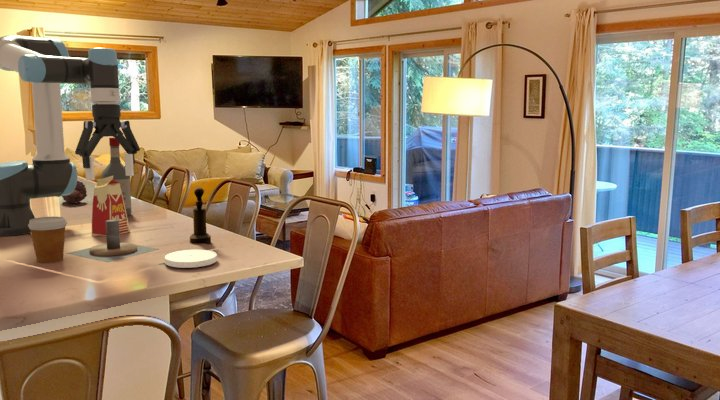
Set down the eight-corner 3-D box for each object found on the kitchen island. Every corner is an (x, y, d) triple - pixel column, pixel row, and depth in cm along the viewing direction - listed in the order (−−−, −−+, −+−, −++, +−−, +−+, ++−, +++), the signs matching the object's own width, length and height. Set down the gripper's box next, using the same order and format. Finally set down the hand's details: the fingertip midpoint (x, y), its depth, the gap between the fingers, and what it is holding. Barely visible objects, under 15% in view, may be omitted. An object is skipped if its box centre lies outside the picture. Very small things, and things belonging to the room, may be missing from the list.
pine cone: (56, 201, 265) (55, 178, 263) (80, 199, 271) (79, 177, 269) (67, 206, 251) (65, 182, 250) (92, 204, 258) (90, 181, 256)
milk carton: (130, 233, 204) (128, 174, 200) (108, 238, 195) (105, 177, 192) (110, 230, 207) (107, 172, 204) (88, 235, 199) (85, 175, 196)
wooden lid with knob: (79, 252, 174) (77, 222, 173) (117, 244, 186) (115, 215, 184) (109, 258, 168) (108, 227, 167) (146, 249, 179) (145, 219, 178)
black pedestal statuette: (191, 240, 194) (190, 185, 191) (212, 240, 195) (211, 185, 192) (187, 245, 187) (186, 188, 185) (209, 245, 188) (207, 188, 185)
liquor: (132, 215, 235) (129, 138, 230) (108, 217, 230) (104, 138, 225) (127, 211, 242) (123, 137, 237) (102, 213, 237) (99, 137, 232)
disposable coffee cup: (53, 267, 161) (50, 223, 159) (22, 265, 162) (19, 221, 161) (76, 259, 170) (74, 217, 168) (47, 256, 172) (44, 215, 170)
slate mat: (66, 255, 174) (66, 253, 173) (118, 243, 189) (118, 241, 189) (108, 264, 165) (108, 262, 165) (159, 250, 180) (159, 248, 180)
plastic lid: (167, 273, 158) (167, 264, 158) (162, 260, 171) (162, 251, 171) (221, 268, 164) (221, 259, 163) (212, 256, 177) (212, 247, 176)
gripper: (75, 102, 159) (81, 182, 162) (149, 104, 181) (153, 174, 184) (57, 103, 163) (63, 181, 166) (132, 104, 185) (136, 173, 187)
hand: (110, 177), depth 175 cm, fingers open, 13 cm apart
